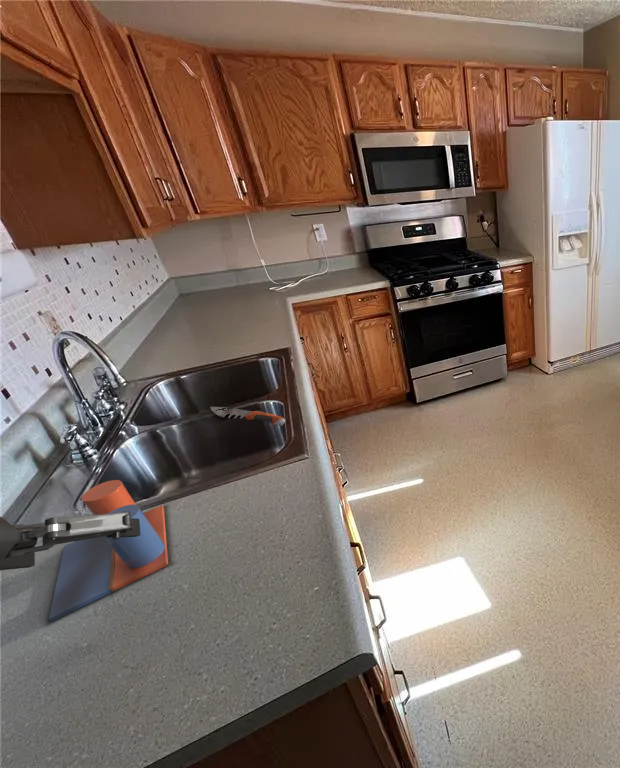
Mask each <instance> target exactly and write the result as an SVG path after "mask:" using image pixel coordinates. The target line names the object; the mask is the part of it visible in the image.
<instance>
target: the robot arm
mask: <svg viewBox="0 0 620 768" xmlns="http://www.w3.org/2000/svg"><path fill="white" fill-rule="evenodd" d="M140 535H141V534H140V522H139V519H134V518H131V517H130V512H121V513H111V514H101V515H93V514H91V515H84V516H82V515H81V516H71V517H49V518H47V519H45V520H44V522H39V523H32V524H23V523H18V524H11V523H10V522H8V520H6V518H4V517H2V516H0V571H6V570H7V571H8V570H18V569H28V568H33V567H35V566H36V553H38V552H39V553H40V552H43V551H44V552H45V551H48V550H50V549H52V548H54V546H57V545H61V544H66V543H67V544H69V543H73V542H75V541H79V540H85V539H91V538H96V537H102V536H107V538H112V539H113V540H114V539H118V538H120V537H137V536H140ZM39 538H42V545H37V544H38V539H39Z"/></svg>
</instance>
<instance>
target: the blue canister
mask: <svg viewBox="0 0 620 768" xmlns="http://www.w3.org/2000/svg"><path fill="white" fill-rule="evenodd" d="M121 512H130V517H131V518H134V519H139V522H140V534H141V535H140V536H137V537H120V538H118V539H114V540H113V539H112V538H107V536H103V537H104V538H105V539H106V540H107V542H108V543H109V544H110V546H111V547H112V548H113V550H114V551H115V552H116V553H117V555H118V556H119V557H120V559H121V560H122V561H123V562H124V564H125V565H126V566H127V567H128V568H139V567H142V566H145V565H147V564H149V563H150V562H152V561H154V560H155V559H156V558H158V557H159V556H160V555H161V554H162V552H163V551H164V549H165V544H164V543H163V541H162V540H161V538H160V537H159V535H158V534H157V532H156V531H155V529H154V528H153V526H152V525H151V524H150V522H149V521H148V519H147V518H146V516H145V515H144V513H145V512H143V511H142V509H141V508H140V506H139V505H137V504H136V505H126V506H123V507H120V508H117V509H115V510H113V511H111V512H110V513H108V514H111V513H121Z"/></svg>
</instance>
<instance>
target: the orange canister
mask: <svg viewBox="0 0 620 768" xmlns="http://www.w3.org/2000/svg"><path fill="white" fill-rule="evenodd" d="M81 500H82V502H83V503H84V505H85V507H86V508H87V509H88V510H89V512H90V513H91V515H101V514H108V513H110V512H111V511H113V510H115V509H117V508H120V507H123V506H126V505H137V504H136V502H135V500H134V498H133V497H132V495H131V494H130V493H129V491H128V489H127V488H126V486H125V485H124V483H123V482H122V480H119V479H113V480H112V479H111V480H108V481H104V482H101V483H98V484H96V485H95V486H92V487H91V488H89V489H88V490H86V491H85V492H84V493H83V494H82V495H81Z"/></svg>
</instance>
